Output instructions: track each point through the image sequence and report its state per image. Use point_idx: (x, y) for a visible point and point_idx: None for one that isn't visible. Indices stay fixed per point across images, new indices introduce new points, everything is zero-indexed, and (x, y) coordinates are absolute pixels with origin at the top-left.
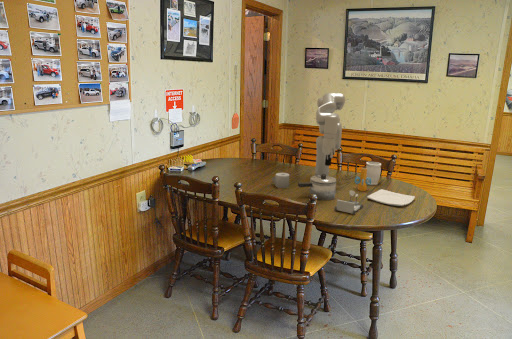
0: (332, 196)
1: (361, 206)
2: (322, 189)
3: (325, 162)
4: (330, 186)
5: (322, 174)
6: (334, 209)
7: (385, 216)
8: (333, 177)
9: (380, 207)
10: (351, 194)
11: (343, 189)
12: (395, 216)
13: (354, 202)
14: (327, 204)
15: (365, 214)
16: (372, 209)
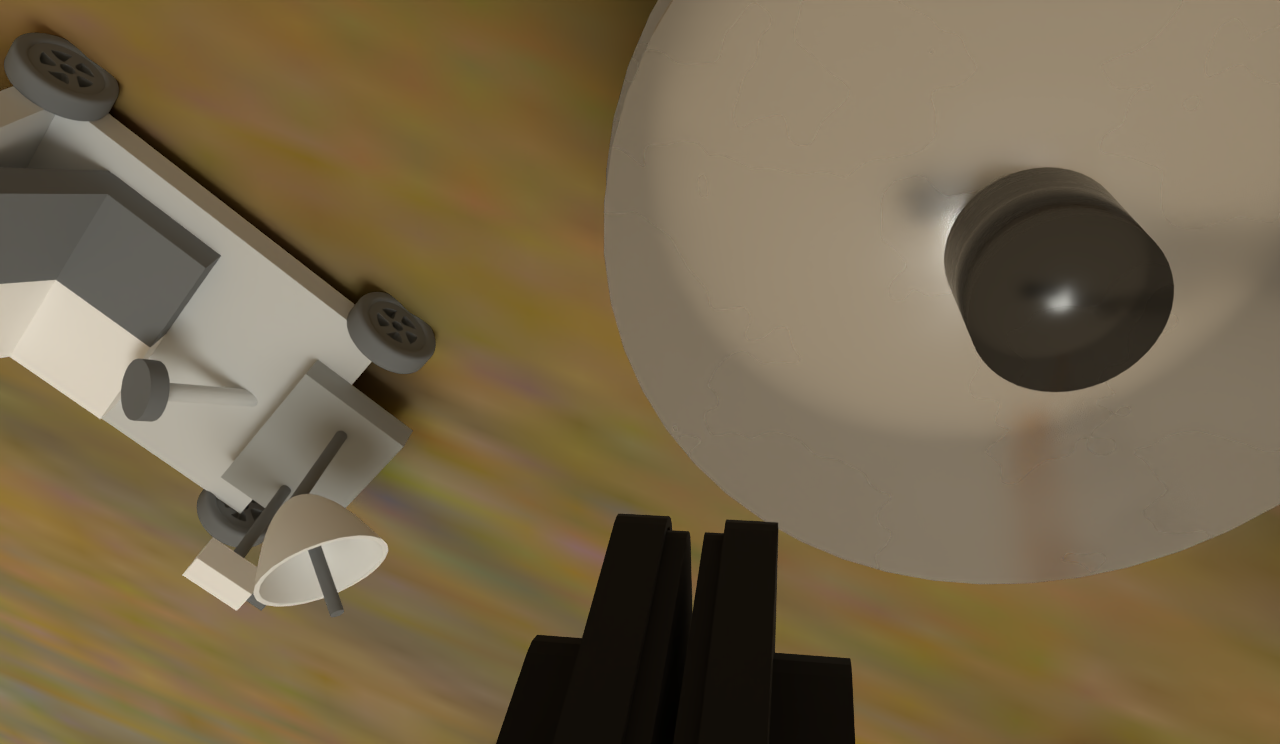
0: None
1: (197, 506)
2: None
3: (707, 630)
4: None
5: (1137, 286)
6: (27, 33)
7: (2, 626)
8: (1080, 570)
9: (325, 716)
10: (272, 519)
11: (1238, 630)
12: (32, 715)
13: (298, 475)
14: (404, 23)
15: (12, 444)
16: None
